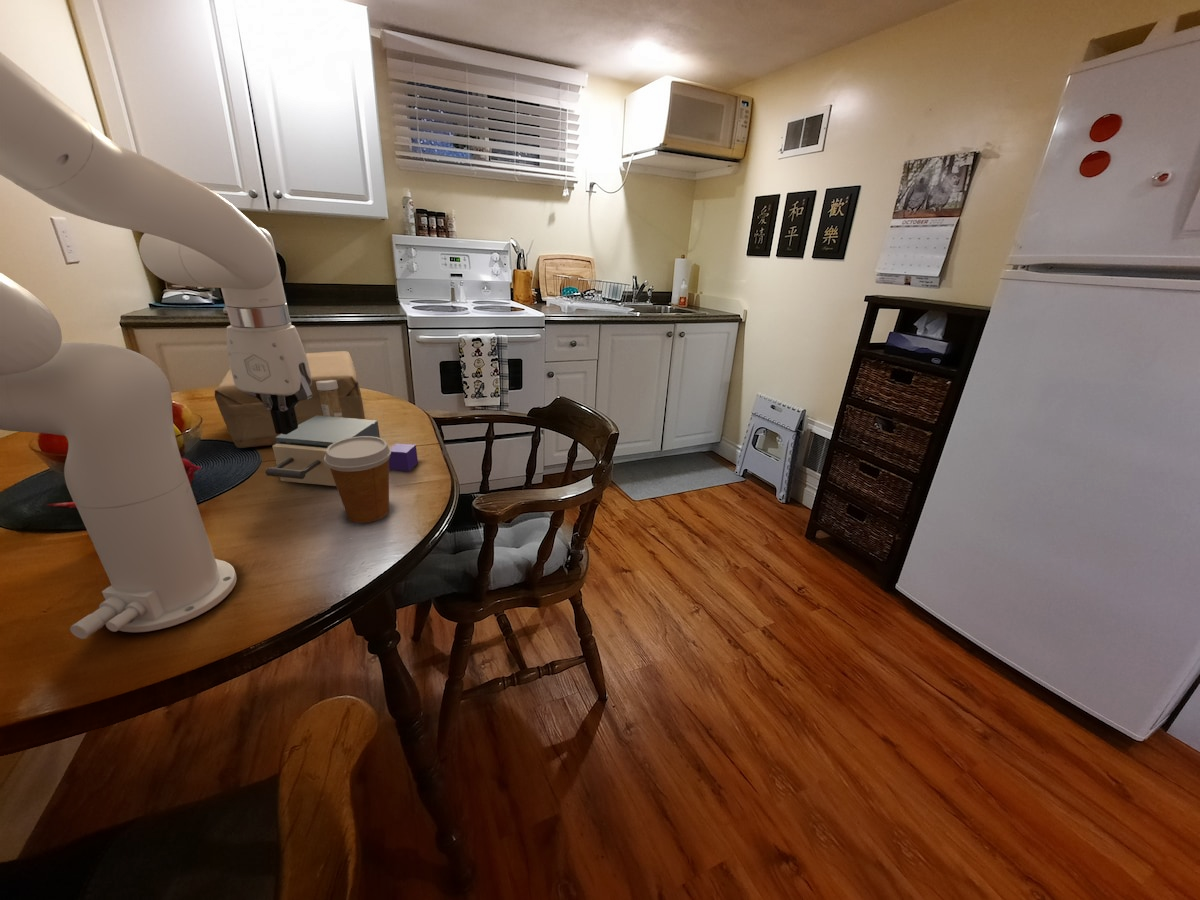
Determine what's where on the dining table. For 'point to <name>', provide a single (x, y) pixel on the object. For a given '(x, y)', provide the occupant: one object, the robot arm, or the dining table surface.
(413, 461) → the cube
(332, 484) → the drawer
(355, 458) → the disposable coffee cup
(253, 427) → the paper package
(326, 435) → the drawer cabinet
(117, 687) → the dining table surface
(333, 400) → the sprinkles bottle
